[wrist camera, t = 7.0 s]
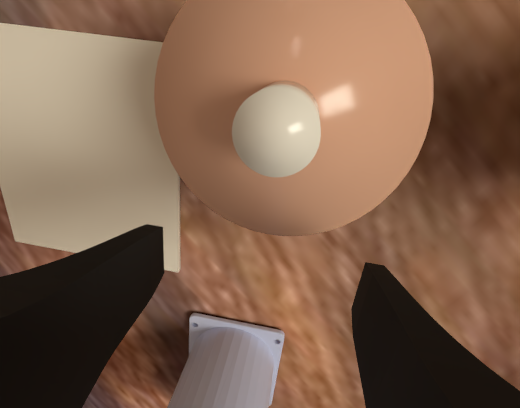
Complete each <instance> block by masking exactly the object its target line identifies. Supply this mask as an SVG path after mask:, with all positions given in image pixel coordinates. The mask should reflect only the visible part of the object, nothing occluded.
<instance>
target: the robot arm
mask: <svg viewBox="0 0 520 408" xmlns="http://www.w3.org/2000/svg"><path fill="white" fill-rule="evenodd" d="M163 274H164V247H163V227H161V226H155V225H149V224H146V225H143V226H140V227H137V228H135V229H133V230H130V231H128V232H126V233H123V234H121V235H119V236H117V237H114V238H112V239H110V240H107V241H105V242H103V243H100V244H98V245H96V246H93V247H91V248H88V249H86V250H83V251H81V252H78V253H76V254H73V255H71V256H68V257H65V258H63V259H60V260H57V261H54V262H51V263H48V264H45V265H42V266H39V267H36V268H32V269H29V270H26V271H22V272H19V273H15V274H11V275H7V276H3V277H0V408H82V407H83V405H84V403H85V401H86V399H87V397H88V395H89V394H90V392H91V390H92V388H93V386H94V385H95V383H96V381H97V379H98V377H99V376H100V374H101V372H102V370H103V369H104V367H105V365H106V363H107V362H108V360H109V358H110V357H111V355H112V354H113V352H114V351H115V349H116V348H117V346H118V345H119V343H120V342H121V341H122V339H123V338H124V336H125V335H126V333H127V332H128V331H129V329H130V328H131V326H132V325H133V323H134V322H135V321H136V319H137V318H138V316H139V315H140V314H141V312H142V311H143V309H144V308H145V306H146V305H147V303H148V302H149V300H150V299H151V297H152V296H153V294H154V292H155V290H156V288H157V287H158V285H159V283H160V280H161V278H162V276H163ZM196 323H197V324H196ZM352 328H353V339H354V345H355V350H356V356H357V362H358V367H359V372H360V378H361V383H362V388H363V394H364V399H365V405H366V408H520V391H519V390H518V389H516V388H515V387H514V386H512V385H511V384H509V383H508V382H507V381H505V380H504V379H503V378H501V377H500V376H499V375H497V374H496V373H495V372H494V371H492V370H491V369H490V368H488V367H487V366H486V365H485V364H483V363H482V362H481V361H480V360H479V359H477V358H476V357H475V356H474V355H473V354H471V353H470V352H469V351H468V350H467V349H466V348H464V347H463V346H462V345H461V344H460V343H459V342H457V341H456V340H455V339H454V338H453V337H452V336H451V335H450V334H449V333H448V332H447V331H446V330H444V329H443V328H442V327H441V326H440V325H439V324H438V323H437V322H436V321H435V320H434V319H433V318H432V317H431V316H430V315H429V314H428V313H427V312H426V311H425V310H424V309H423V308H422V307H421V306H420V304H419V303H418V302H417V301H416V300H415V299H414V298H413V297H412V296H411V295H410V294H409V293H408V291H407V290H406V289H405V288H404V287H403V286H402V285H401V284H400V283H399V281H398V280H397V279H396V278H395V277H394V276H393V275H392V274H391V272H390V271H389V270H388V269H387V268H386V267H385V266H383V265H378V264H372V263H366V262H365V266H364V269H363V272H362V276H361V279H360V282H359V286H358V289H357V292H356V296H355V299H354V302H353V305H352ZM283 342H284V332H283V331H281V330H278V329H273V328H268V327H263V326H258V325H253V324H248V323H243V322H238V321H233V320H228V319H223V318H218V317H214V316H209V315H204V314H199V313H192V314H191V316H190V318H189V357H188V359H187V362H186V364H185V367H184V369H183V371H182V374H181V376H180V378H179V381H178V383H177V386H176V388H175V390H174V393H173V395H172V397H171V400H170V402H169V405H168V407H167V408H269V406H270V405H271V403H272V398H273V393H274V388H275V383H276V378H277V372H278V367H279V362H280V357H281V352H282V347H283Z"/></svg>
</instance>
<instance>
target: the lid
mask: <svg viewBox="0 0 520 408" xmlns="http://www.w3.org/2000/svg"><path fill="white" fill-rule="evenodd" d="M154 101H155V113H156V119H157V124H158V129H159V133H160V136H161V139H162V142H163V145H164V148H165V150H166V153H167V155H168V157H169V159H170V161H171V163H172V165H173V167H174V168H175V170H176V172H177V173H178V175H179V176H180V178H181V179H182V180H183V182H184V183H185V184H186V186H187V187H188V188H189V189H190V191H191V192H192V193H193V194H194V195H195V196H196V197H197V198H198V199H199V200H200V201H201V202H203V203H204V204H205V205H206V206H208V207H209V208H210V209H211V210H212V211H214V212H216V213H217V214H219V215H220V216H222V217H223V218H225V219H227V220H229V221H231V222H233V223H235V224H237V225H239V226H242V227H245V228H247V229H250V230H253V231H257V232H261V233H265V234H271V235H279V236H303V235H312V234H317V233H322V232H326V231H330V230H333V229H336V228H338V227H341V226H344V225H346V224H348V223H350V222H352V221H354V220H356V219H358V218H360V217H362V216H363V215H365V214H366V213H368V212H369V211H371V210H373V209H374V208H375V207H376V206H377V205H379V204H380V203H381V202H382V201H384V200H385V199H386V198H387V197H388V196H389V195H390V194H391V193H392V192H393V191H394V190H395V189H396V188H397V186H398V185H399V184H400V183H401V181H402V180H403V179H404V177H405V176H406V175H407V173H408V172H409V170H410V169H411V167H412V165H413V163H414V162H415V160H416V158H417V156H418V154H419V152H420V150H421V147H422V145H423V142H424V140H425V138H426V134H427V130H428V127H429V123H430V119H431V113H432V106H433V71H432V64H431V57H430V54H429V50H428V47H427V43H426V40H425V36H424V34H423V32H422V30H421V28H420V26H419V23H418V21H417V19H416V17H415V15H414V14H413V12H412V11H411V9H410V8H409V6H408V5H407V3H406V2H405V0H187V1H186V2H185V3H184V5H183V6H182V7H181V8H180V10H179V12H178V14H177V15H176V17H175V19H174V20H173V22H172V24H171V25H170V28H169V30H168V32H167V35H166V37H165V39H164V42H163V44H162V48H161V51H160V55H159V58H158V62H157V69H156V75H155V89H154Z"/></svg>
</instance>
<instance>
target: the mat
mask: <svg viewBox="0 0 520 408" xmlns="http://www.w3.org/2000/svg"><path fill="white" fill-rule="evenodd" d="M162 44H163V42H156V41H148V40H139V39H131V38H123V37H114V36H106V35H98V34H89V33H81V32H73V31H64V30H56V29H47V28H39V27H31V26H22V25H14V24H6V23H0V187H1V191H2V194H3V198H4V202H5V206H6V209H7V213H8V217H9V220H10V224H11V228H12V232H13V235H14V239H15V241H16V242H21V243H27V244H32V245H37V246H42V247H48V248H53V249H58V250H63V251H69V252H74V253H78V252H81V251H83V250H86V249H88V248H91V247H93V246H96V245H98V244H100V243H103V242H105V241H107V240H110V239H112V238H114V237H117V236H119V235H121V234H123V233H126V232H128V231H130V230H133V229H135V228H137V227H140V226H143V225H146V224H149V225H155V226H161V227H163V247H164V270H168V271H173V272H179V270H180V176H179V175H178V173H177V172H176V170H175V168H174V167H173V165H172V163H171V161H170V159H169V157H168V155H167V153H166V150H165V148H164V145H163V142H162V139H161V136H160V133H159V129H158V124H157V119H156V113H155V101H154V89H155V75H156V69H157V62H158V58H159V55H160V51H161V48H162Z"/></svg>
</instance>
